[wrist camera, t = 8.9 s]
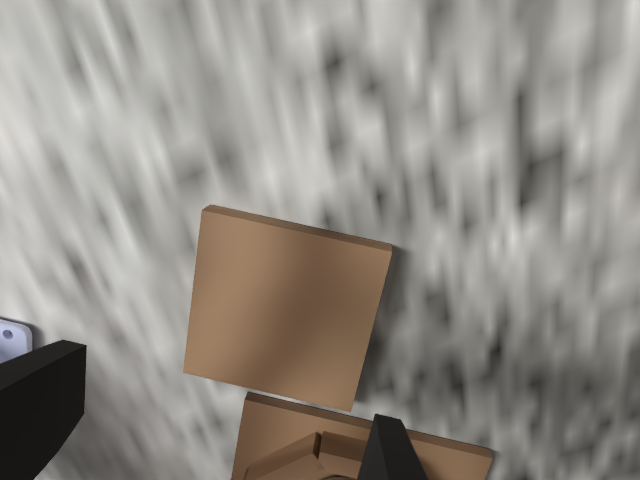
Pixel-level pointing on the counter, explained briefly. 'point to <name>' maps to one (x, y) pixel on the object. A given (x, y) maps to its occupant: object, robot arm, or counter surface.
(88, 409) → the counter surface
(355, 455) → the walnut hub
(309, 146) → the counter surface
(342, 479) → the silver metal canister
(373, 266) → the walnut stand
